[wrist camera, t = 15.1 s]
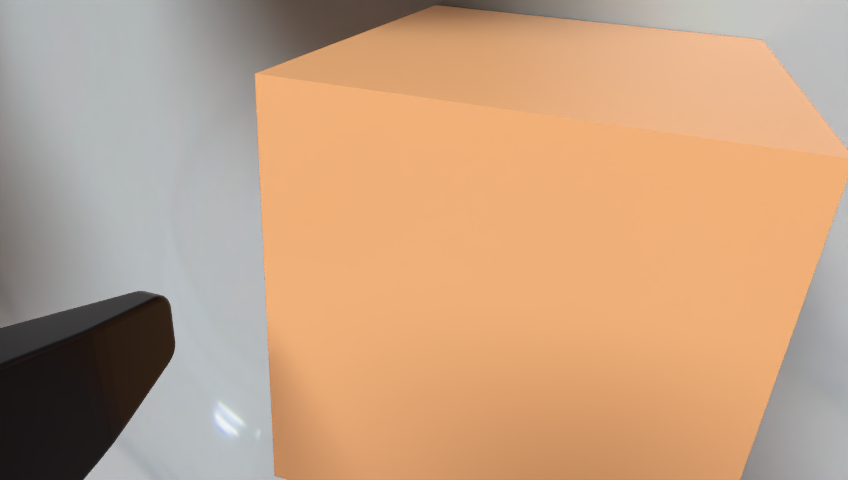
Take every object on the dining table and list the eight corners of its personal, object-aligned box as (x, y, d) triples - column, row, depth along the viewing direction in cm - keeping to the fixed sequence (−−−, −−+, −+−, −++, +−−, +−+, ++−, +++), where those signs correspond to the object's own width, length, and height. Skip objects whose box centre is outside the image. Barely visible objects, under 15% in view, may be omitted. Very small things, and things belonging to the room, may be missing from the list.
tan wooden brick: (684, 327, 19) (695, 603, 11) (418, 271, 21) (274, 475, 13) (762, 40, 15) (854, 159, 8) (435, 4, 17) (255, 74, 10)
